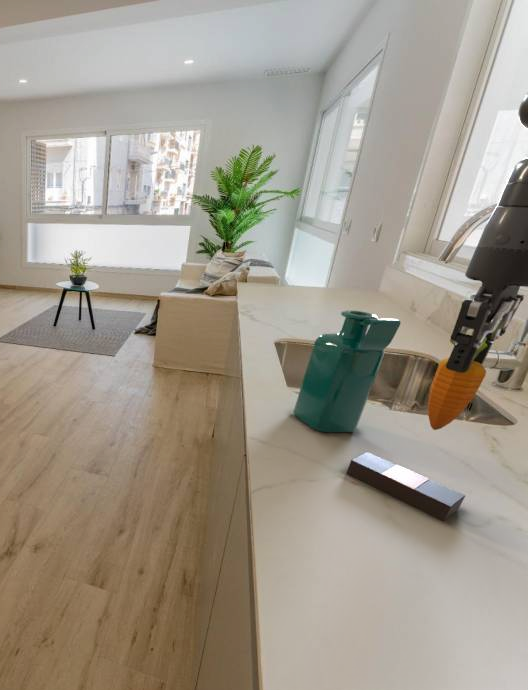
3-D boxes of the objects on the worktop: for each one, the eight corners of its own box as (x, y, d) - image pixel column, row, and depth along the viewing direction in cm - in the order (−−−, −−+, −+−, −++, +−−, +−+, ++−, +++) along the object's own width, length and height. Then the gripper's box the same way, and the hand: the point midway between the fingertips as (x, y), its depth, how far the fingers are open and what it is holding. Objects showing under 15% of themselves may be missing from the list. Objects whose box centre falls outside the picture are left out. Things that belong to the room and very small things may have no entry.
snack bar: (362, 464, 69) (367, 451, 68) (458, 509, 60) (466, 494, 59) (345, 473, 67) (351, 459, 66) (443, 521, 57) (451, 506, 56)
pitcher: (288, 411, 86) (320, 305, 77) (327, 411, 86) (364, 306, 78) (322, 437, 77) (363, 320, 68) (366, 437, 77) (412, 320, 69)
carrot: (425, 435, 63) (468, 340, 57) (406, 419, 68) (444, 329, 62) (464, 440, 62) (512, 343, 56) (442, 423, 66) (484, 332, 61)
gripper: (545, 250, 48) (479, 386, 54) (579, 246, 55) (516, 368, 61) (459, 243, 54) (408, 366, 60) (498, 240, 61) (449, 352, 67)
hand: (463, 366), depth 61 cm, fingers closed on carrot, 5 cm apart
